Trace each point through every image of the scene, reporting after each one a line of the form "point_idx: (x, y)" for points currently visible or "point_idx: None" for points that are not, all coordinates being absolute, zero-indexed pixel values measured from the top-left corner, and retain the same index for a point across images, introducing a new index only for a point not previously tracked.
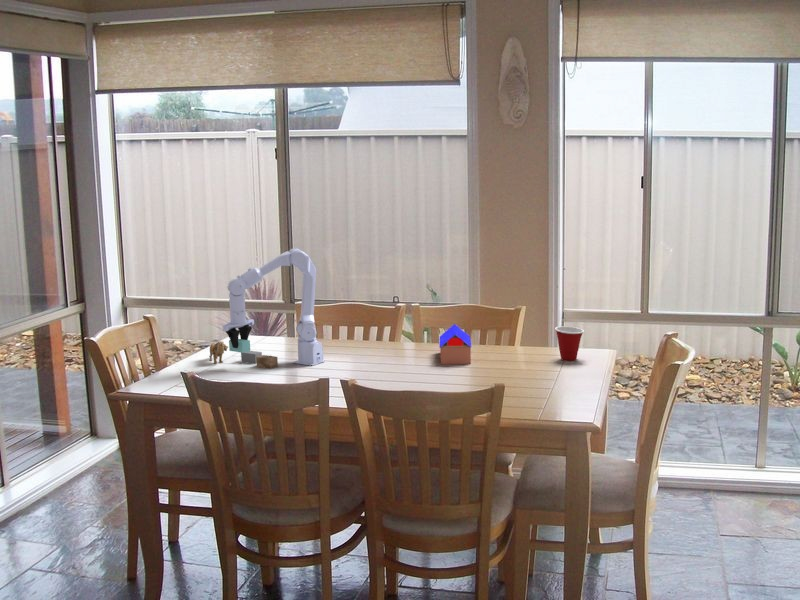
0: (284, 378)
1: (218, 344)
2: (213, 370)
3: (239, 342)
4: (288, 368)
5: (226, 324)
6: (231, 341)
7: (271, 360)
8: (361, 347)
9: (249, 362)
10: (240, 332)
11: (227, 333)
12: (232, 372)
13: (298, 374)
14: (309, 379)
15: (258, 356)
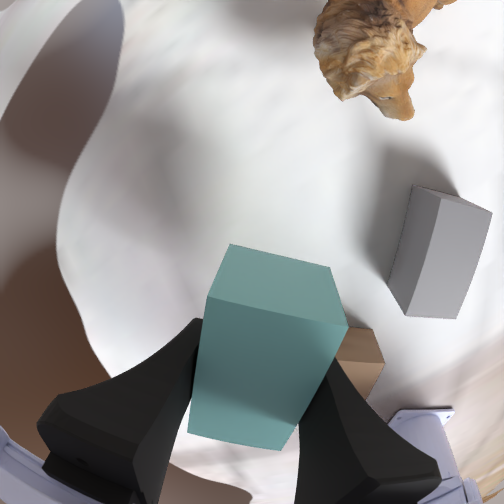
0: (192, 447)
1: (337, 42)
2: (171, 132)
3: (190, 411)
4: None
5: (1, 499)
6: (166, 351)
7: None
8: None
9: (399, 245)
10: (335, 442)
11: (83, 398)
12: (174, 265)
13: (250, 461)
14: (213, 479)
15: (345, 362)
